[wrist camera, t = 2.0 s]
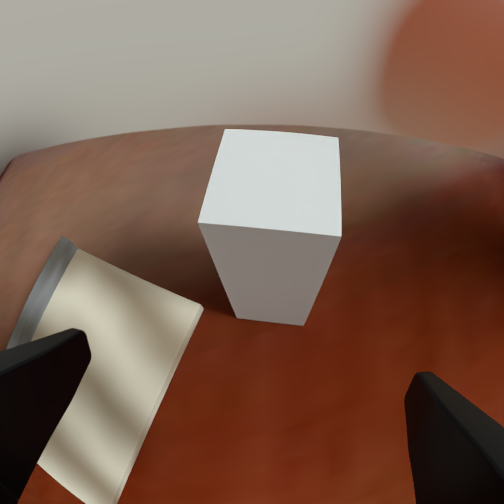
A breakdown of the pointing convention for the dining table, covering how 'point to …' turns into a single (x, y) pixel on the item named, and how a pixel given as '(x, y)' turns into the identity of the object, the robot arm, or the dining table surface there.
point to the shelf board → (106, 364)
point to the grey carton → (273, 220)
